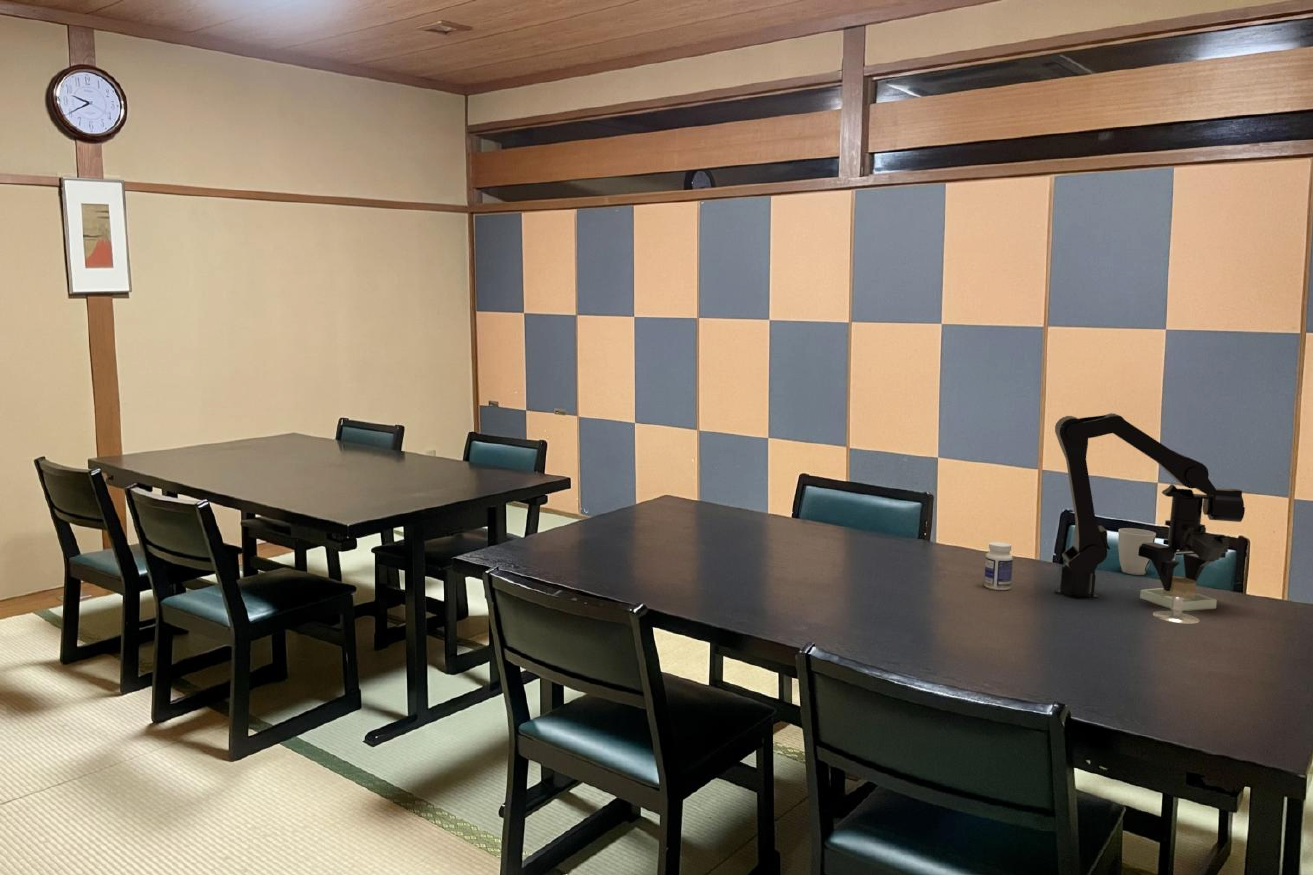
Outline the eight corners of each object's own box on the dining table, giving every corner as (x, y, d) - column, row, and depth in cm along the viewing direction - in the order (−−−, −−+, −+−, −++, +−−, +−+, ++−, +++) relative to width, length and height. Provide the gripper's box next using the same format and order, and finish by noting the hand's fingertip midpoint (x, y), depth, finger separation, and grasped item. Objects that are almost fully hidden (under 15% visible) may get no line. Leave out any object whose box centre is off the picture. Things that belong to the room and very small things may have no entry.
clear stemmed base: (1177, 626, 195) (1179, 604, 194) (1143, 614, 202) (1145, 592, 202) (1209, 623, 197) (1211, 601, 197) (1174, 611, 205) (1176, 590, 205)
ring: (1179, 599, 206) (1180, 584, 206) (1156, 591, 212) (1157, 577, 212) (1200, 597, 208) (1202, 582, 208) (1177, 589, 214) (1178, 575, 213)
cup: (1156, 577, 233) (1160, 536, 232) (1119, 574, 235) (1123, 533, 234) (1146, 569, 241) (1150, 529, 240) (1111, 566, 243) (1114, 527, 242)
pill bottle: (1011, 586, 222) (1015, 543, 220) (1009, 592, 216) (1012, 548, 215) (985, 582, 224) (988, 539, 223) (982, 588, 219) (985, 544, 218)
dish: (1178, 613, 204) (1179, 603, 204) (1139, 599, 213) (1140, 589, 213) (1215, 610, 207) (1216, 599, 207) (1175, 596, 217) (1176, 587, 217)
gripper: (1183, 527, 198) (1176, 603, 199) (1252, 524, 204) (1244, 597, 206) (1139, 516, 208) (1133, 588, 210) (1206, 513, 214) (1199, 583, 216)
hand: (1178, 589), depth 210 cm, fingers closed on ring, 6 cm apart
